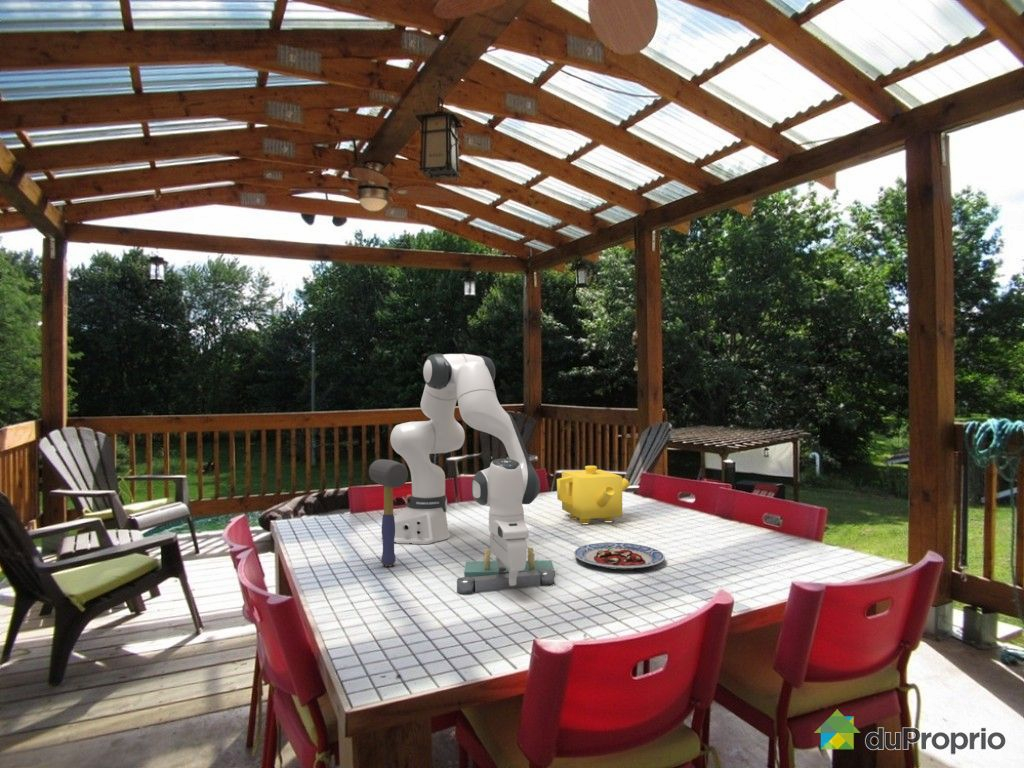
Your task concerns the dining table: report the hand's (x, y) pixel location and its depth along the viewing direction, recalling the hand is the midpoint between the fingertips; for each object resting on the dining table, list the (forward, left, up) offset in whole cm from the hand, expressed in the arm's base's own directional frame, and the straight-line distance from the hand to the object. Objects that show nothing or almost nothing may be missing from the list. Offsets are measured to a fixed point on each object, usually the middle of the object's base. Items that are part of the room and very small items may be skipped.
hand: (506, 579), depth 155 cm
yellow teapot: (+35, +77, -2) cm, 85 cm away
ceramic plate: (+33, +22, -2) cm, 40 cm away
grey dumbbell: (0, 0, -2) cm, 2 cm away
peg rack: (+1, +13, -2) cm, 13 cm away
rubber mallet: (-33, +20, -2) cm, 39 cm away
